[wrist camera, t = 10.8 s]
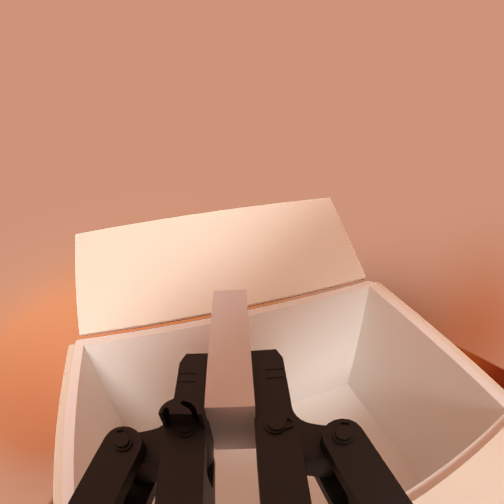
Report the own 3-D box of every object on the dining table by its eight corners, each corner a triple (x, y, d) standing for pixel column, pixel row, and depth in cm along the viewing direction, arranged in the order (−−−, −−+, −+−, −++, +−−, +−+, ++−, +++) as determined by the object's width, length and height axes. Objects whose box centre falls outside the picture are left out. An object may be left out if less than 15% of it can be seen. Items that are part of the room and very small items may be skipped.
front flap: (365, 277, 30) (363, 279, 31) (329, 197, 35) (327, 200, 35) (79, 334, 23) (81, 336, 24) (75, 234, 27) (77, 237, 28)
